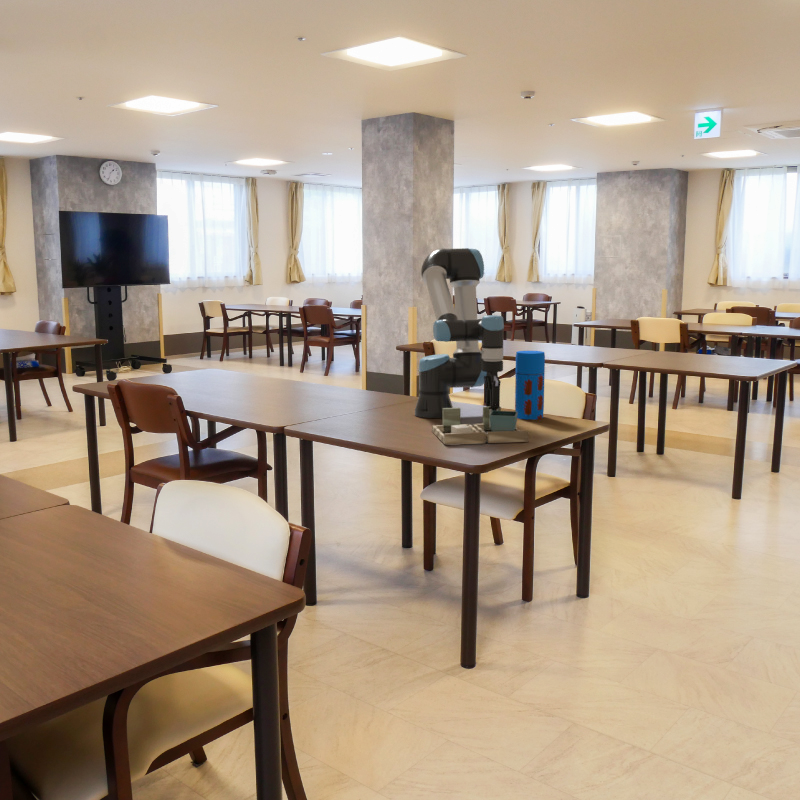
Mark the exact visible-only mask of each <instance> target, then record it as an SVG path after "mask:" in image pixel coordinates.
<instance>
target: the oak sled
mask: <svg viewBox="0 0 800 800" xmlns="http://www.w3.org/2000/svg"><path fill="white" fill-rule="evenodd" d="M498 411H502V407H501V406H500V407H499V408H498ZM489 413H490V409H489V407H486V406H482V423H471V426H473V427H474V428H475V429H476V430H477V431H479V432H485V433H486V439H485V442H486V443H487V444H494V443H495V444H499V443H500V444H502V443H526V442H529V435H530V434H529V433H530V431H529V430H522V429H520V428H518V427H517V426H516V428H515V431H498V432H491V427H489ZM486 431H487V432H486Z"/></svg>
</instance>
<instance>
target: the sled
mask: <svg viewBox="0 0 800 800" xmlns="http://www.w3.org/2000/svg"><path fill="white" fill-rule="evenodd" d="M453 425H467V426H469V427H471V433H451V426H453ZM431 432H432V433H433V434H434V435H435V436H436V437H437V438H438V440H440V442H441V443H442V444H444V445H445V446H448V445H449V446H451V445H452V446H453V445H471V444H472V445H475V444H486V441H485V439H486V433H487V432H486V431H485V432H486V433H485V432H479V431H477V430H476V429H475V428H474V427H473V426H472V424H470V423H463V424H462V423H461V407H453V408H443V418H442V424H436V425H435V424H434V425H431ZM444 432H445V433H444ZM446 432H447V433H446ZM448 432H450V433H448Z"/></svg>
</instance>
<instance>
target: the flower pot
mask: <svg viewBox="0 0 800 800" xmlns="http://www.w3.org/2000/svg"><path fill="white" fill-rule="evenodd" d="M517 414H518V412H516V411H515V410H514V411H512V410H510V411H509V410H501V411H491V414H490V426H491V430H490V432H498V431H515V428H516V427H517V421H518V418H517Z"/></svg>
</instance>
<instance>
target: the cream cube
mask: <svg viewBox="0 0 800 800" xmlns="http://www.w3.org/2000/svg"><path fill="white" fill-rule="evenodd" d="M450 433H471V427H469V426H467V425H453V426H451V431H450Z"/></svg>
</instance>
